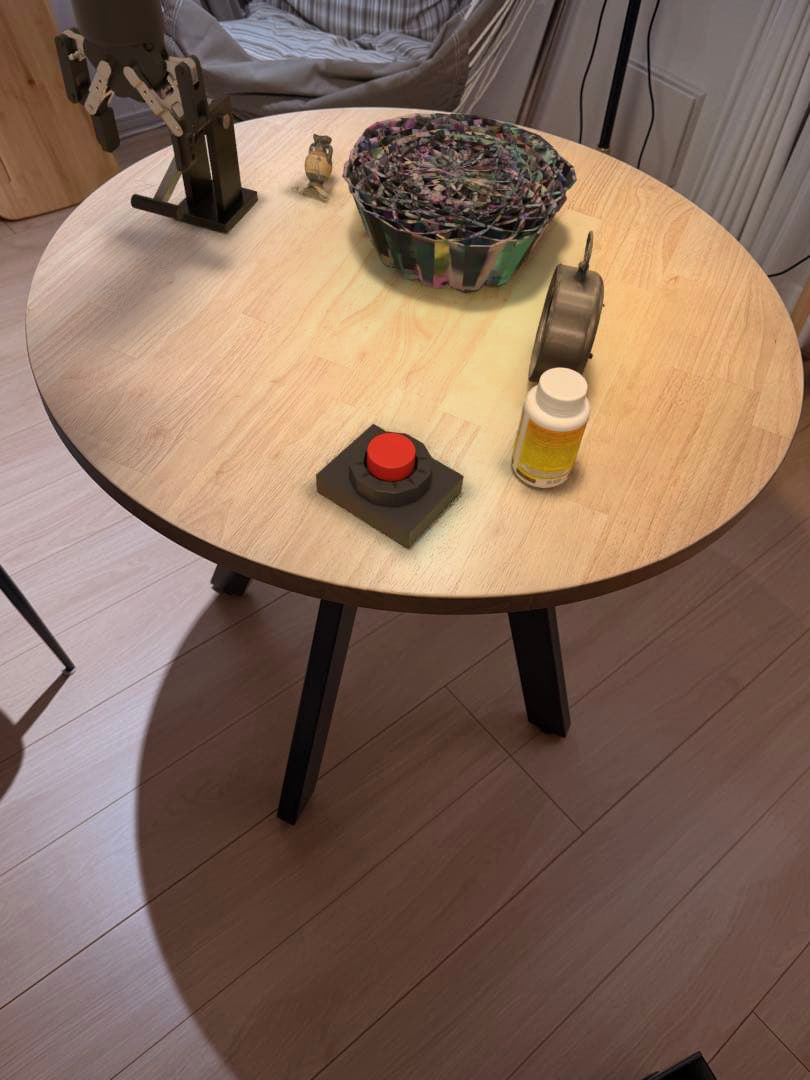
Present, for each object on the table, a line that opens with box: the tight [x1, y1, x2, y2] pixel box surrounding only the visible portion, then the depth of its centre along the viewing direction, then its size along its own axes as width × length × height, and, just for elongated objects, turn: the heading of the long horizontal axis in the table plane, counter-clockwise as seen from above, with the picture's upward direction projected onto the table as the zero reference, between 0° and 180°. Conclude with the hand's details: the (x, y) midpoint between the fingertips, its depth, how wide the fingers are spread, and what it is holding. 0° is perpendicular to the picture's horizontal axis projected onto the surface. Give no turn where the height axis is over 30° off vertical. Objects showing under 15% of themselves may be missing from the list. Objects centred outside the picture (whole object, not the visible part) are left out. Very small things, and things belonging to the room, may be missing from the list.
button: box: [367, 433, 416, 482], centre depth 66 cm, size 4×4×2 cm
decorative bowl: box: [341, 112, 578, 294], centre depth 90 cm, size 26×28×10 cm
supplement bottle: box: [511, 368, 591, 489], centre depth 68 cm, size 6×6×10 cm
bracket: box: [171, 92, 259, 235], centre depth 89 cm, size 8×7×13 cm
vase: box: [290, 133, 334, 201], centre depth 96 cm, size 5×5×6 cm
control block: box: [315, 423, 465, 549], centre depth 68 cm, size 10×8×4 cm
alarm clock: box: [527, 230, 606, 384], centre depth 73 cm, size 11×5×16 cm, turn 168°
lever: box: [130, 97, 214, 221], centre depth 85 cm, size 14×6×2 cm, turn 159°
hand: (149, 158), depth 80 cm, fingers open, 8 cm apart
